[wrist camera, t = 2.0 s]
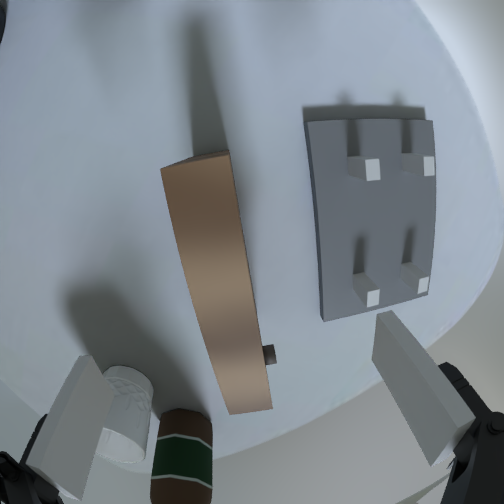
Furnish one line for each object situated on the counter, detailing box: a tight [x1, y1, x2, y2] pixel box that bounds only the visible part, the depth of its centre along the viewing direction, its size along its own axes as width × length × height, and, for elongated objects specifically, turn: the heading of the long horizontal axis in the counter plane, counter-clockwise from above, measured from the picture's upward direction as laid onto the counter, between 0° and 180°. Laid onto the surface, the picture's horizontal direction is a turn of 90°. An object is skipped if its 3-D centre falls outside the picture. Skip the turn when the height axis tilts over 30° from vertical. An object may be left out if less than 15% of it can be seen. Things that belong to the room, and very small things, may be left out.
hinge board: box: [304, 119, 436, 322], centre depth 24 cm, size 19×13×5 cm
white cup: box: [95, 365, 154, 463], centre depth 27 cm, size 8×8×10 cm
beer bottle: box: [150, 409, 213, 504], centre depth 24 cm, size 8×8×24 cm
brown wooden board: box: [160, 150, 277, 415], centre depth 20 cm, size 16×4×12 cm, turn 9°
